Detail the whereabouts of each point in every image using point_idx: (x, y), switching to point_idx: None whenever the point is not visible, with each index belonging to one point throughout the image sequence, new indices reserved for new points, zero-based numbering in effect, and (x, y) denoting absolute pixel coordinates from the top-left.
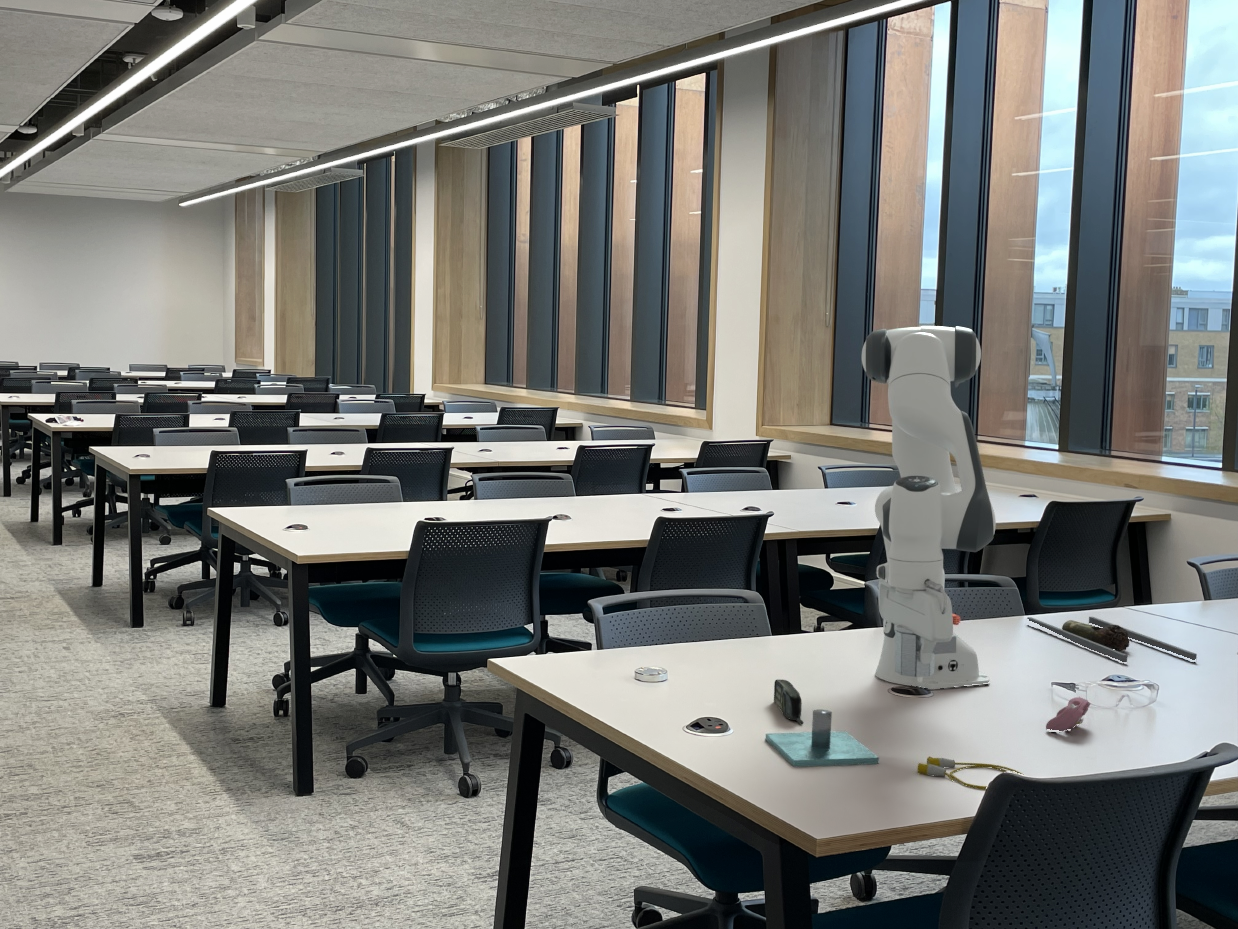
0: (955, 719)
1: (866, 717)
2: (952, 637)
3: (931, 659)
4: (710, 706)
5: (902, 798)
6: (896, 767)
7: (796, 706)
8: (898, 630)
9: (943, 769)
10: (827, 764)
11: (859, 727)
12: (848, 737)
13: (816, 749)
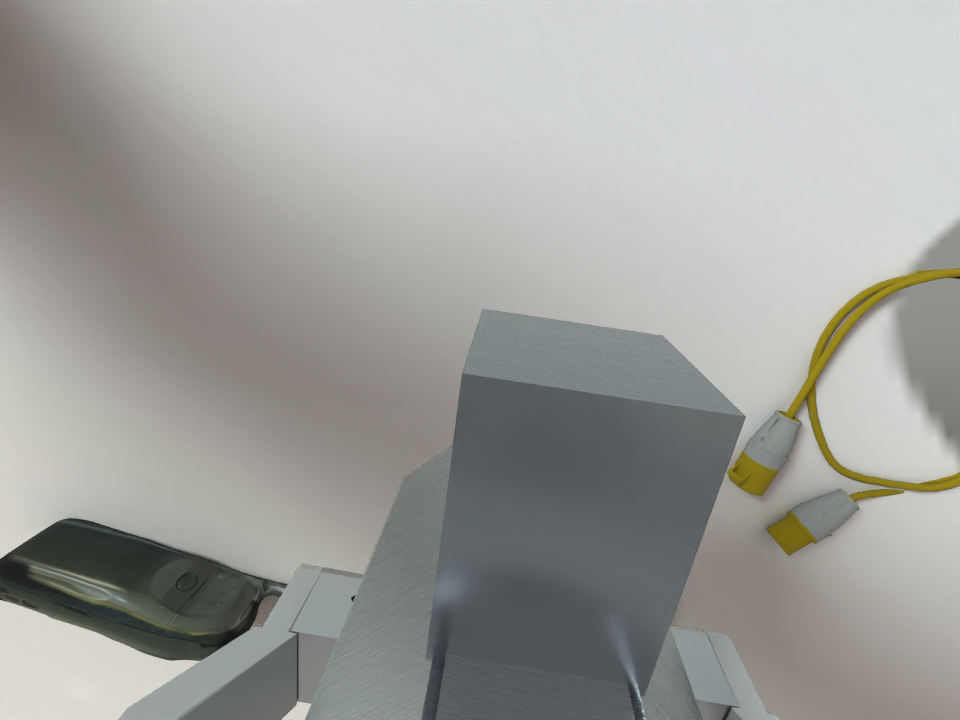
0: (302, 32)
1: (237, 370)
2: (714, 466)
3: (735, 650)
4: (104, 698)
5: (911, 675)
6: (709, 562)
7: (244, 631)
8: None
9: (854, 510)
10: None
11: (339, 452)
12: None
13: None
